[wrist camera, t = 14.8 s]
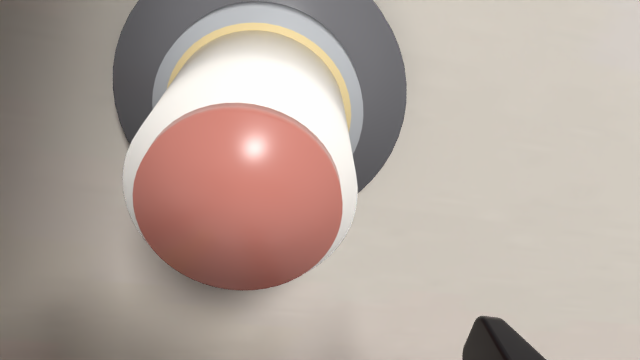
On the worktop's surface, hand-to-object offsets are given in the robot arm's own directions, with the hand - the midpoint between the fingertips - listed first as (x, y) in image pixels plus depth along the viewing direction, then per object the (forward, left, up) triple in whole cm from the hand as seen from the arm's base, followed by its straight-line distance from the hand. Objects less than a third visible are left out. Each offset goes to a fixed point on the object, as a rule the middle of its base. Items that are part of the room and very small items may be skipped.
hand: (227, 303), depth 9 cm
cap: (0, 0, -9) cm, 9 cm away
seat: (0, 0, -11) cm, 11 cm away
